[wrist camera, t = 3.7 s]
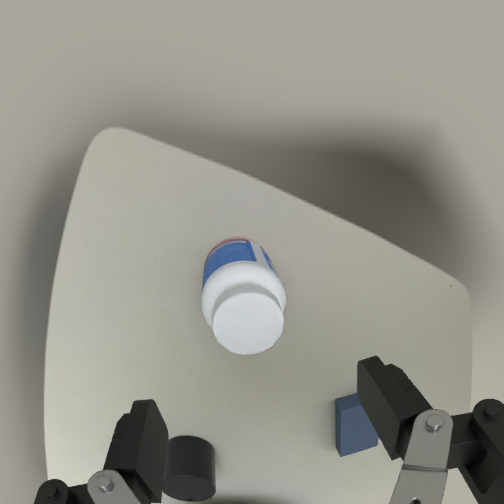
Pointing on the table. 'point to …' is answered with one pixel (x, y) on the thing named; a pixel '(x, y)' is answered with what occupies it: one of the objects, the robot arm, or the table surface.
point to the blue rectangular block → (353, 427)
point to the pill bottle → (242, 297)
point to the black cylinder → (189, 469)
